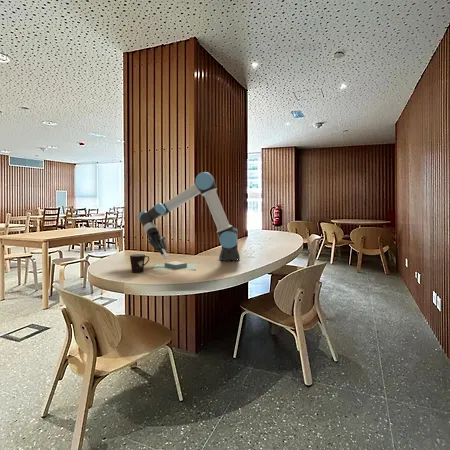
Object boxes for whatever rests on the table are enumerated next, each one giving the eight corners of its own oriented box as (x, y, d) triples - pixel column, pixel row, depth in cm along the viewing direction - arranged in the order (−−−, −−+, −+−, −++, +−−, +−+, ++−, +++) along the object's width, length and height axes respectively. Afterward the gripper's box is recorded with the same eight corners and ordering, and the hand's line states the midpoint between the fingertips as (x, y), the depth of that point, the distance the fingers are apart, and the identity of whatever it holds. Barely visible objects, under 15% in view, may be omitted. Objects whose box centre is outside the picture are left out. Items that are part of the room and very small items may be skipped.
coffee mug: (130, 273, 178) (130, 256, 178) (129, 271, 186) (129, 254, 186) (151, 272, 183) (151, 255, 182) (149, 269, 191) (149, 253, 190)
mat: (195, 264, 207) (195, 263, 207) (196, 270, 189) (196, 269, 189) (155, 265, 204) (155, 264, 204) (152, 271, 186) (152, 270, 186)
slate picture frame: (164, 262, 196) (175, 265, 188) (176, 260, 202) (186, 263, 195) (164, 266, 196) (175, 269, 188) (176, 265, 202) (186, 267, 195)
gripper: (157, 233, 218) (171, 260, 208) (140, 234, 208) (155, 262, 198) (161, 226, 214) (176, 253, 204) (145, 227, 204) (160, 255, 194)
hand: (166, 257), depth 201 cm, fingers closed
